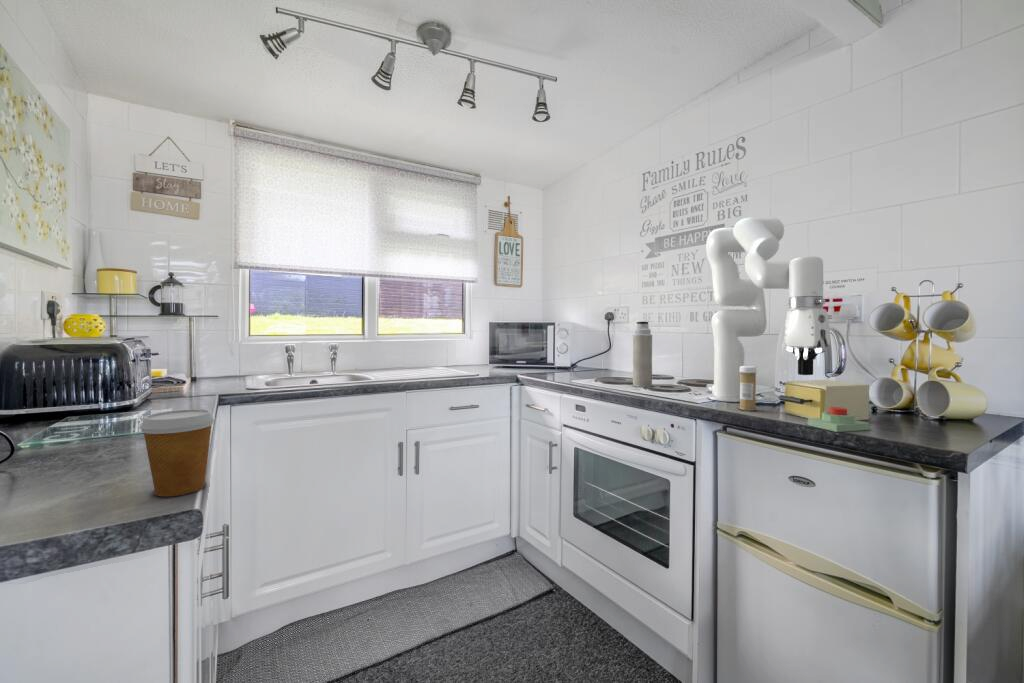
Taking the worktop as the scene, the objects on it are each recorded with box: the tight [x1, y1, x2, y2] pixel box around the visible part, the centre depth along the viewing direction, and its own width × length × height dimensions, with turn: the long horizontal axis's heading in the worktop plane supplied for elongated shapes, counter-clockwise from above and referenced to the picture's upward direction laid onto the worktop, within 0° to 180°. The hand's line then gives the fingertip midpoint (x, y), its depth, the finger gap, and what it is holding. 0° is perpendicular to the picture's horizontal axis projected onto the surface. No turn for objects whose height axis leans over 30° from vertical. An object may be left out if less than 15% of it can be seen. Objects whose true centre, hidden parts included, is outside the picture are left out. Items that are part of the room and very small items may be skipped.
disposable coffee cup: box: [139, 408, 216, 498], centre depth 70 cm, size 10×10×12 cm
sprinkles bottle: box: [739, 365, 758, 412], centre depth 136 cm, size 5×5×13 cm
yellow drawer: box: [778, 383, 824, 418], centre depth 125 cm, size 18×11×8 cm, turn 103°
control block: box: [807, 411, 870, 433], centre depth 112 cm, size 8×10×4 cm
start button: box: [829, 407, 847, 415], centre depth 112 cm, size 4×4×2 cm
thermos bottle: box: [632, 321, 653, 388], centre depth 193 cm, size 8×8×28 cm
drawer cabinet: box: [786, 379, 870, 421], centre depth 126 cm, size 15×13×10 cm
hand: (805, 374), depth 116 cm, fingers closed
